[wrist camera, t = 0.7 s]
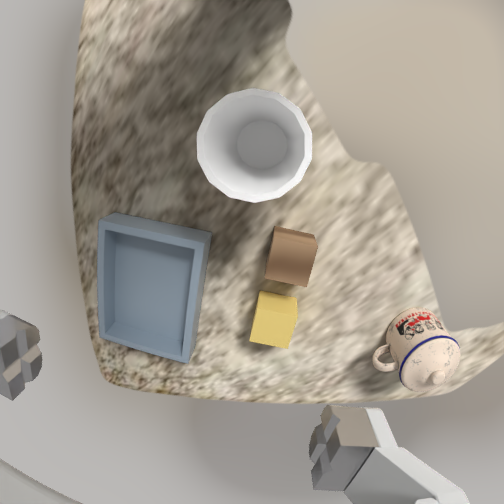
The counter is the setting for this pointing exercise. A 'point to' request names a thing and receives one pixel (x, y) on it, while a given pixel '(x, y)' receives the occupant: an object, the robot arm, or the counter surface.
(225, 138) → the foam cup
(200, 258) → the tray
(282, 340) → the mustard block
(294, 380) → the counter surface
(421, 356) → the teacup with lid
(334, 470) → the robot arm
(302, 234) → the walnut block
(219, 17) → the counter surface
